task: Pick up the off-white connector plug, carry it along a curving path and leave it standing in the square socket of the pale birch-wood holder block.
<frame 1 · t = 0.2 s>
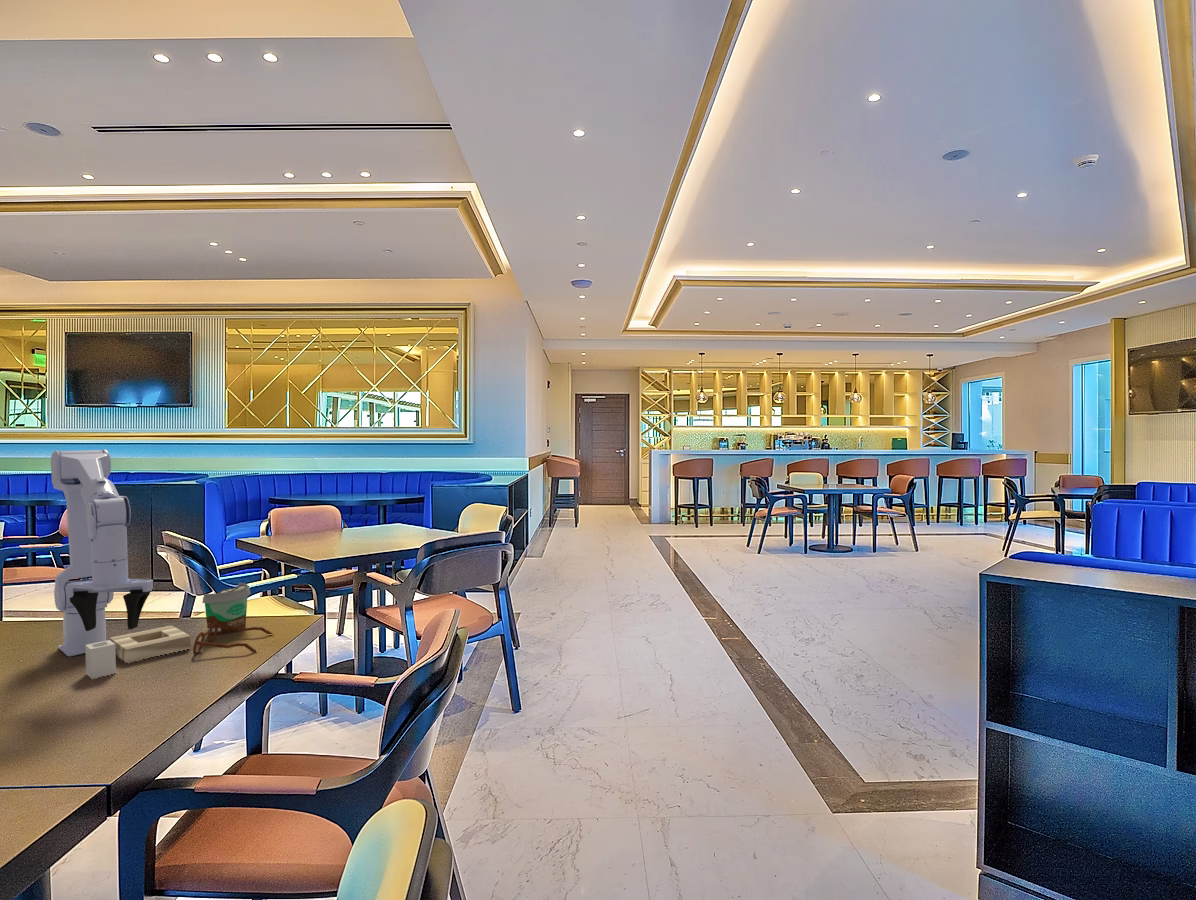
hand: (111, 628, 132), 10 cm above the table, tool pointing down, fingers open, 7 cm apart
food container: (234, 630, 164), on the table
holder: (150, 650, 149), on the table
glasses: (235, 648, 152), on the table
connector plug: (101, 674, 134), on the table
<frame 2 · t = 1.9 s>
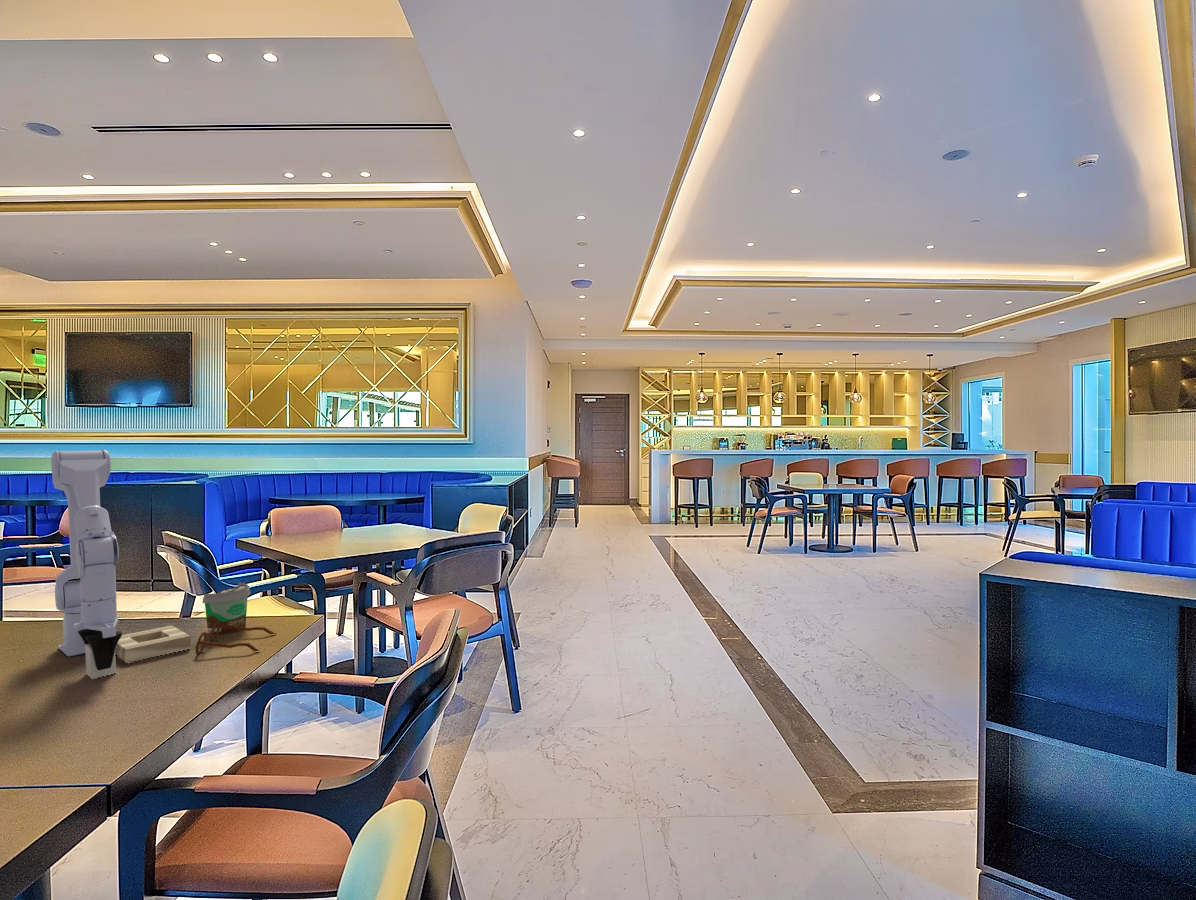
hand: (100, 666, 134), 2 cm above the table, tool pointing down, fingers closed on connector plug, 4 cm apart
connector plug: (101, 674, 134), on the table, touching gripper
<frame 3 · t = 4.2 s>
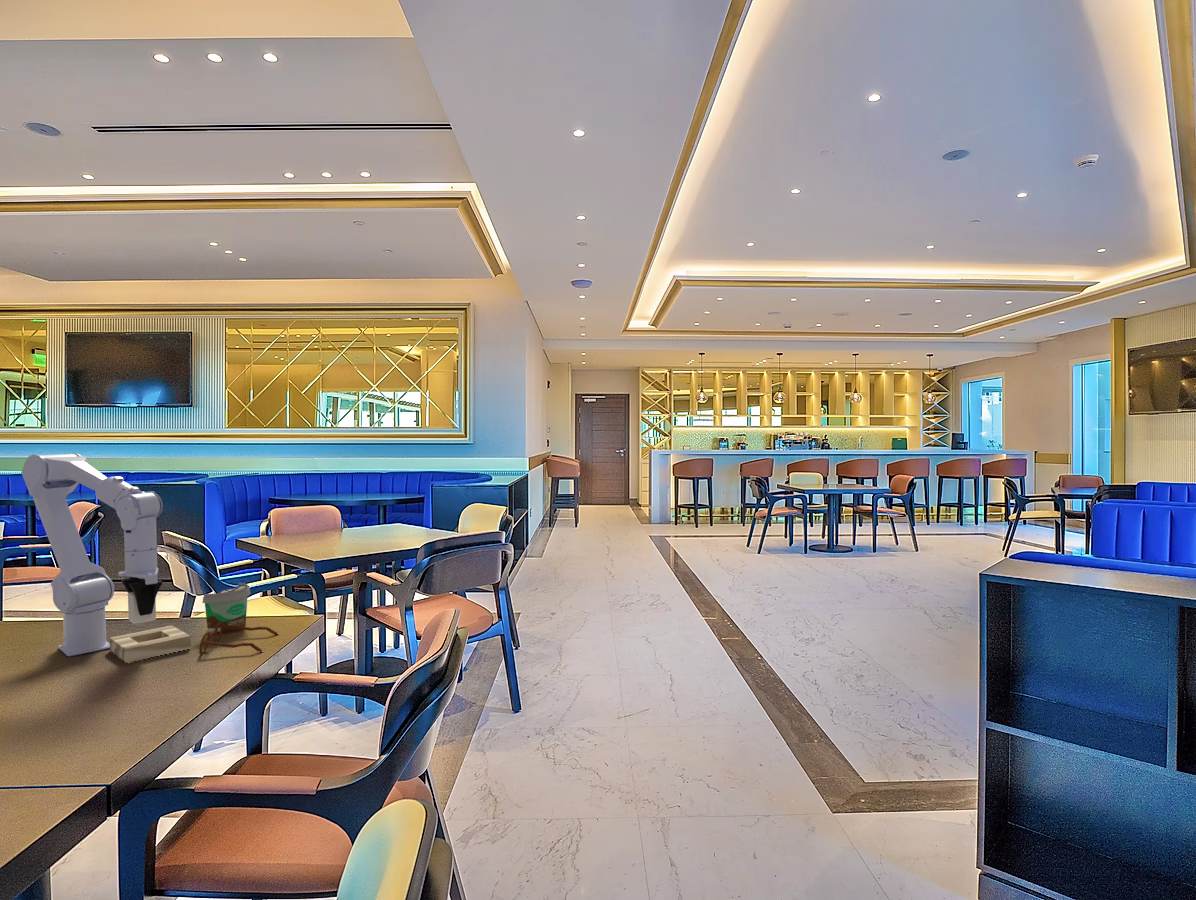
hand: (142, 612, 145), 9 cm above the table, tool pointing down, fingers closed on connector plug, 4 cm apart
connector plug: (142, 620, 145), point 8 cm above the table, touching gripper
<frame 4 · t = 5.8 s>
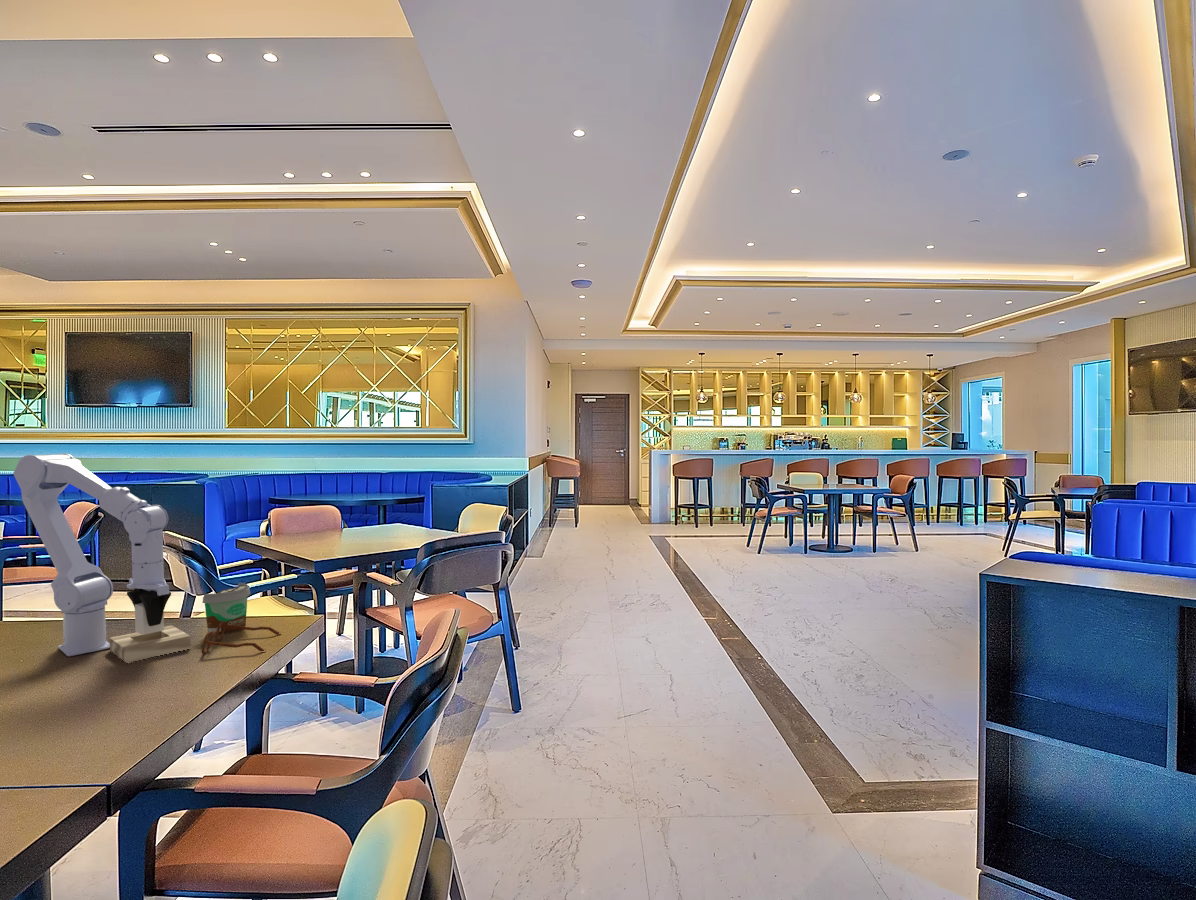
hand: (149, 623, 148), 6 cm above the table, tool pointing down, fingers closed on connector plug, 4 cm apart
connector plug: (149, 630, 148), point 4 cm above the table, touching gripper
when the fingers open (4 cm above the table, at t = 6.8 s): connector plug drops 2 cm, resting in holder.
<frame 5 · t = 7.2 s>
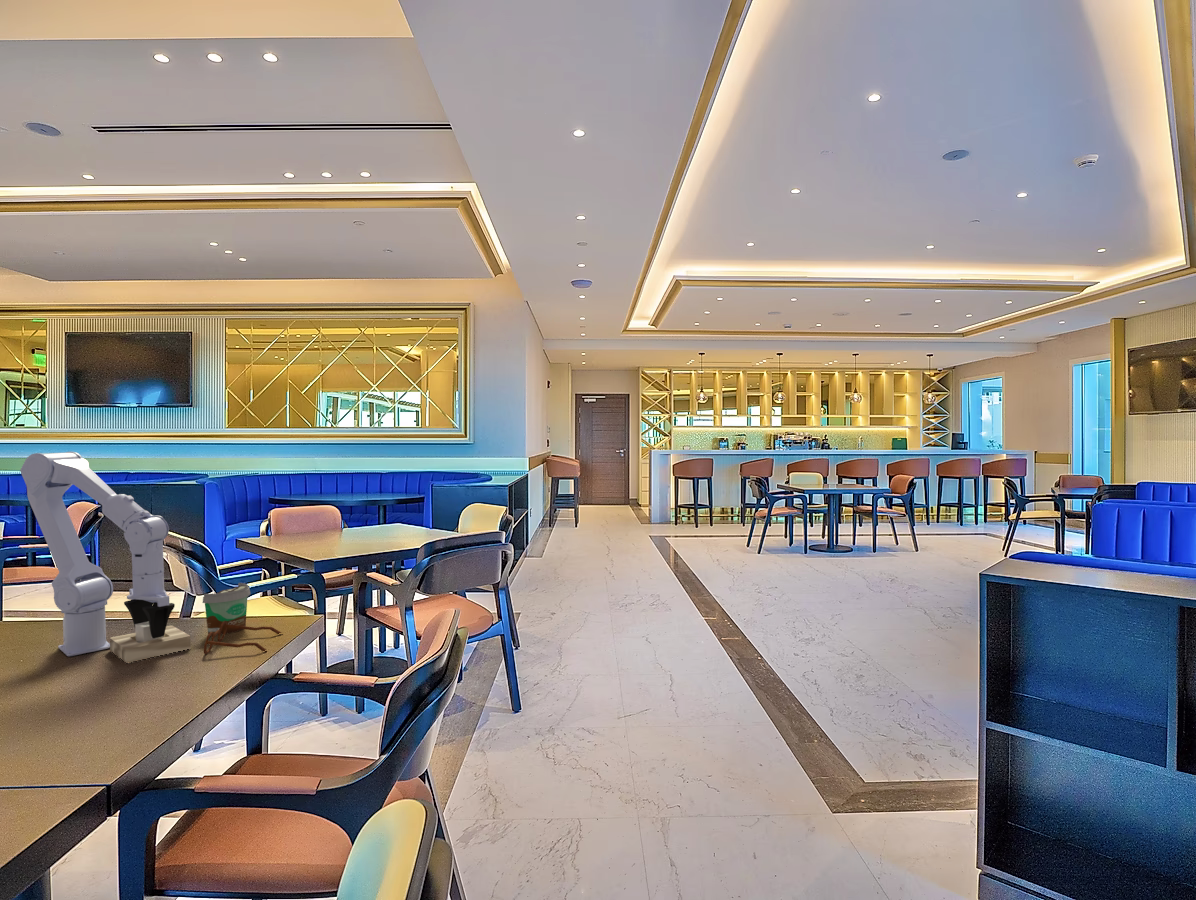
hand: (150, 634, 148), 4 cm above the table, tool pointing down, fingers open, 7 cm apart
connector plug: (150, 650, 149), resting in holder
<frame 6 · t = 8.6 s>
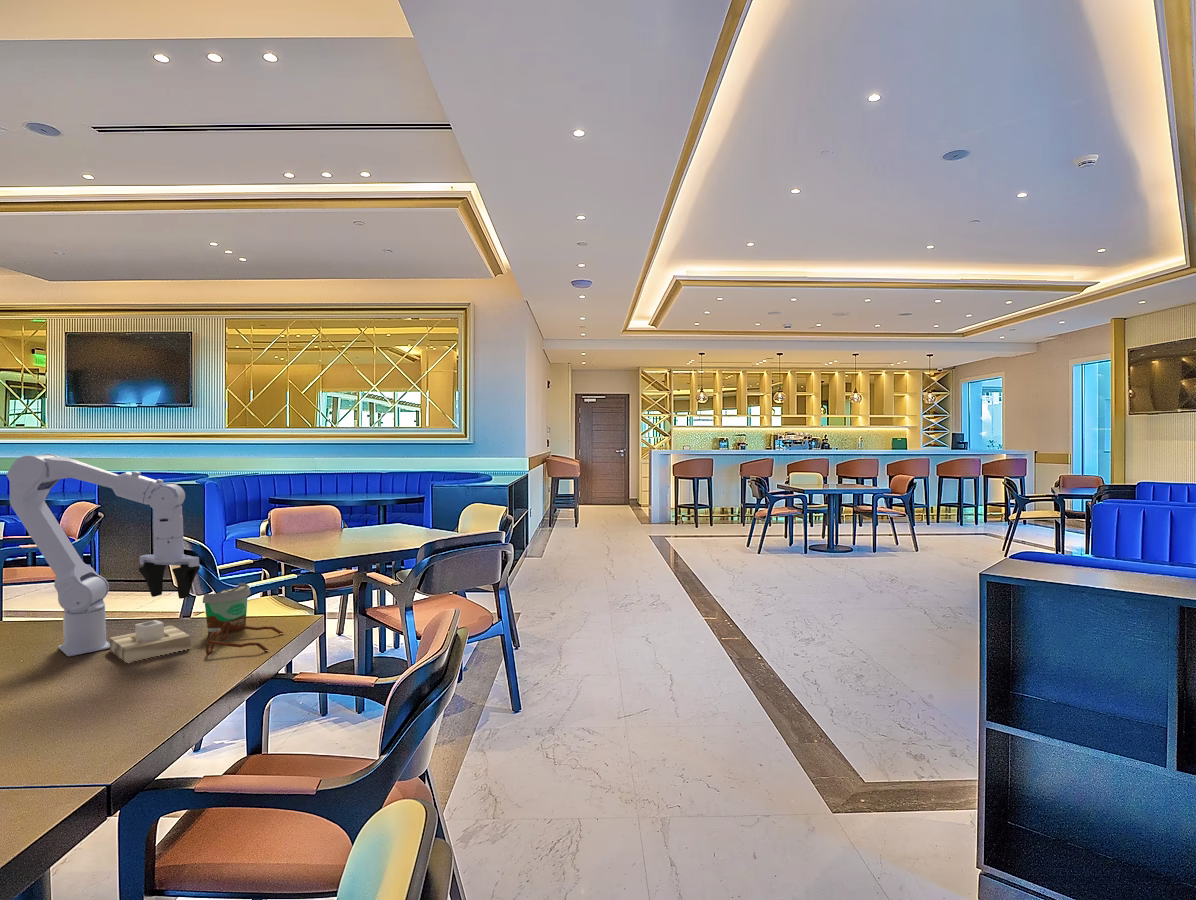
hand: (170, 596, 154), 10 cm above the table, tool pointing down, fingers open, 7 cm apart
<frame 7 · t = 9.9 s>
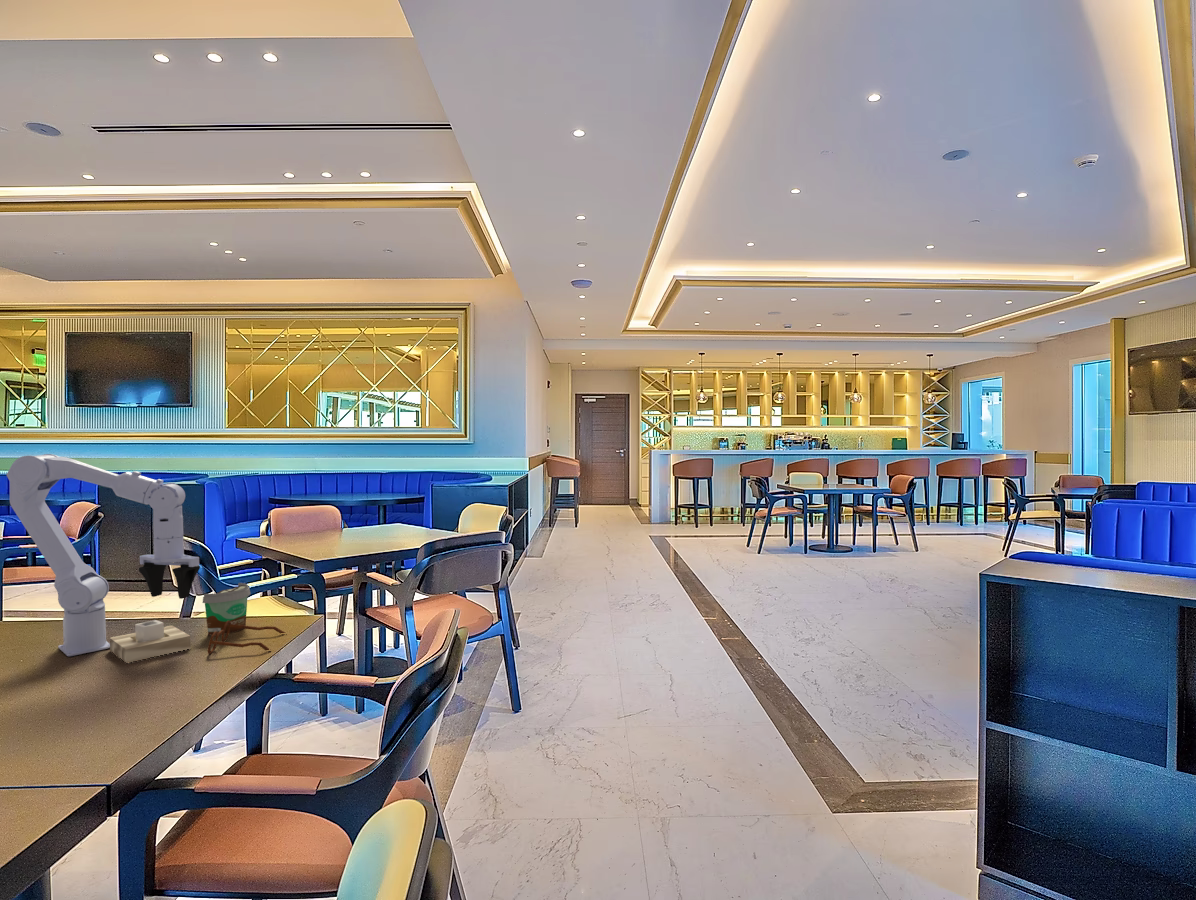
hand: (170, 596, 154), 10 cm above the table, tool pointing down, fingers open, 7 cm apart
at the end: connector plug 0.1 cm off-centre on the holder, point 0.0 cm above the holder's base; connector plug tilted 0°; the gripper is holding nothing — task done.
